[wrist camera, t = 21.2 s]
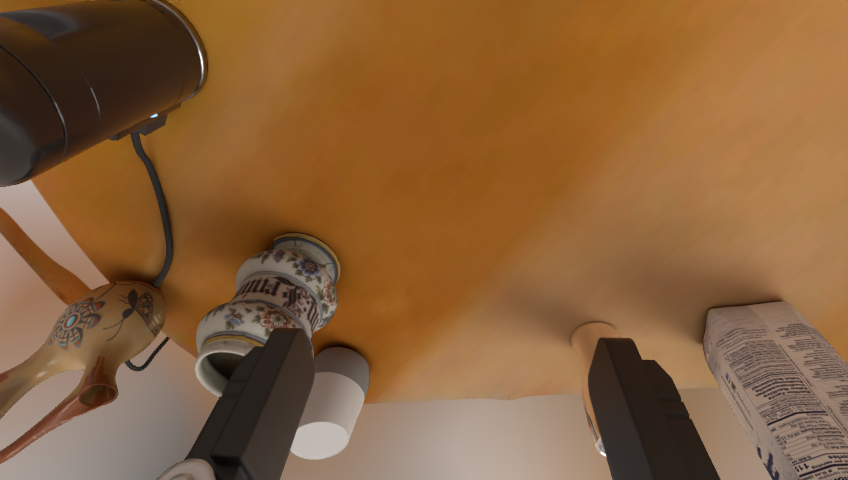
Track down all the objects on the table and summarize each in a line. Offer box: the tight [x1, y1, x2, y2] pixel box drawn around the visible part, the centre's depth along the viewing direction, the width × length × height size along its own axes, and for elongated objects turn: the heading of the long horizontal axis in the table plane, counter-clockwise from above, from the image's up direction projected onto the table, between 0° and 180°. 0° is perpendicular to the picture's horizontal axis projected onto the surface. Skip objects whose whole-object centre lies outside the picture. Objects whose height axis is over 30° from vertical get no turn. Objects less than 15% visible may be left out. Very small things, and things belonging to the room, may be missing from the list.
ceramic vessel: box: [0, 280, 167, 464], centre depth 49 cm, size 16×9×25 cm, turn 96°
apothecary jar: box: [195, 233, 340, 398], centre depth 46 cm, size 12×12×18 cm
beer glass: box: [571, 322, 619, 458], centre depth 50 cm, size 7×7×15 cm
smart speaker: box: [290, 347, 370, 459], centre depth 58 cm, size 10×9×14 cm
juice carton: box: [703, 301, 848, 480], centre depth 41 cm, size 9×10×27 cm
